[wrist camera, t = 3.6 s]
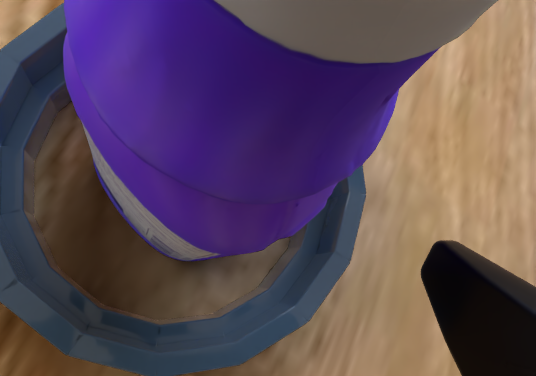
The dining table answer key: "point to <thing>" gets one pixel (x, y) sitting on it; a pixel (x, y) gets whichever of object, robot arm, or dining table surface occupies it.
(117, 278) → the dining table surface
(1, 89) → the bowl
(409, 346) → the dining table surface
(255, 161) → the bottle
